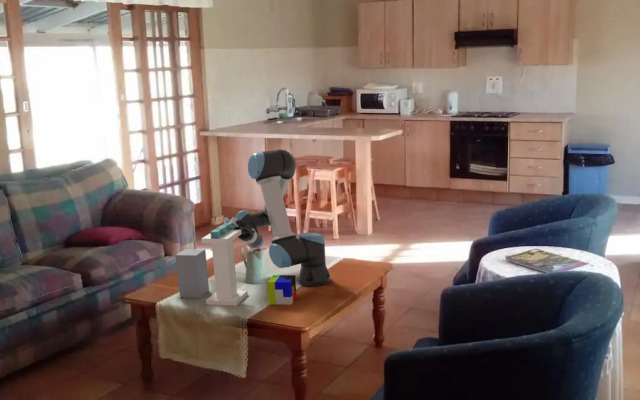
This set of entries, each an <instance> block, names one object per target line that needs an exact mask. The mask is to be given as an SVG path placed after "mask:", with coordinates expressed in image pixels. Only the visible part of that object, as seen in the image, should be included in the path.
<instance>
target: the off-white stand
mask: <svg viewBox="0 0 640 400" xmlns="http://www.w3.org/2000/svg"><path fill="white" fill-rule="evenodd" d="M239 235H241V230H230V231H229V232H227V233H226V234H224V235H223V236H221V237H220V238H218V239H211V232H209V233H208V234H206V235H205V236H203V237H202V238H201V244H211V251H212V261H213V262H212V263H213V271H214V272H213V274H214V282H215V285H214V286H215V292H214V293H212V294H211V295H210V296H209V297H208V298H207V299H206V300H205V302H206V305H213V306H237V305H239V304H240V303H241V302H242V301H243V300H244V299H245V298H246V297H247V296H248V295H249V294H248V290H241V289H239V290H238V287H237V273H236V264H235V263H236V262H235V251H234V250H235V249H234V240H235V239H237V238H238V236H239Z"/></svg>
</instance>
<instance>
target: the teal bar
mask: <svg viewBox="0 0 640 400" xmlns="http://www.w3.org/2000/svg"><path fill="white" fill-rule="evenodd" d="M236 219H237V220H238V221H239V218H236ZM235 227H236V226H235V225H234V224H233V223H232V218H231V219H229V221H228V222H226V223H224V222H223V224H221V225H220V226H218V227H216V228H215V229H212V230H211V231H210V233H211V239H218V238H220V237H221V236H223V235H224V234H226V233H227V232H229V231H230V230H232V229H234V228H235Z"/></svg>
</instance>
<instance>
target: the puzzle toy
mask: <svg viewBox="0 0 640 400" xmlns="http://www.w3.org/2000/svg"><path fill="white" fill-rule="evenodd" d="M296 283H297V282H296V275H295V274H292V275H291V274H273V275H272V276H271V277H270V278H269V279H268V280H267V283H266V287H267V296H268V297H267V298H268V304H269V305H292V304H293V303H294V301H295V300H296V298H297V284H296Z"/></svg>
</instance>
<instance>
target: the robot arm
mask: <svg viewBox="0 0 640 400" xmlns="http://www.w3.org/2000/svg"><path fill="white" fill-rule="evenodd" d="M296 169H297V165H296V160H295V157H294V156H293V155H292V153H290V151H288V150H285V149H281V148H280V149H279V148H278V149H274V150H273V149H272V150H266V151H265V150H264V151H258V152H255V153H252V154H251V155H250V157H249V158H248V162H247V172H248V175H249V177H250V178H251V179H252V180H255V182H256V184H257V185H258V186H260V189H261V193H262V196H263V201H264V204H263V208H262V209H261V210H262V211H259V212H254V213H250V211H249V210H246V209H243V210H240V211H238V213H236V215H235V216H232V217H231V219H232V223H233V224H234V225H235V226H236V227H235V228H234V229H232V230H241V235H239V236H238V237H237V238H238V239H240V240H241V241H242V242H244V243H245V244H247V245H248V247H250V248H251V249H254V248H258V249H260V248H262V246H263V245H264V243H265V242H264V238H263V236H262V234H260V232H259V231H258V229H259V228H264V227H268V226H270V228H271V232H272V238H271V240H270V242H271V244H270V245H269V246H268V255H269V258H270V260H271V262H272V264H273V265H275V267H277V268H279V269H286V268H290V267H293V266H297V265H300V269H299V274H298V276H297V282H298V284H299V285H300V286H305V287H319V286H320V287H321V286H324V285H326V284H329V283H330V282H331V275H330V272H329V269H328V267H327V264H326V247H325V245H326V243H325V237H324V235H322V234H321V233H317V232H302V233H299V234H298V238H297V235H296V233H295V232H293V231H292V228H291V225H290V220H289V216H288V213H287V208H286V205H285V201H284V196H285V193H286V191H287V188H288V185H289V184H290V180H291V179H293V178H294V177H295V173H296ZM223 218H224V219H223V224H224V223H226V222H228V221H229V220H230V219H229V218H228V217H227V216H224V217H223ZM236 218H239V221H238V220H237V219H236Z"/></svg>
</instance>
